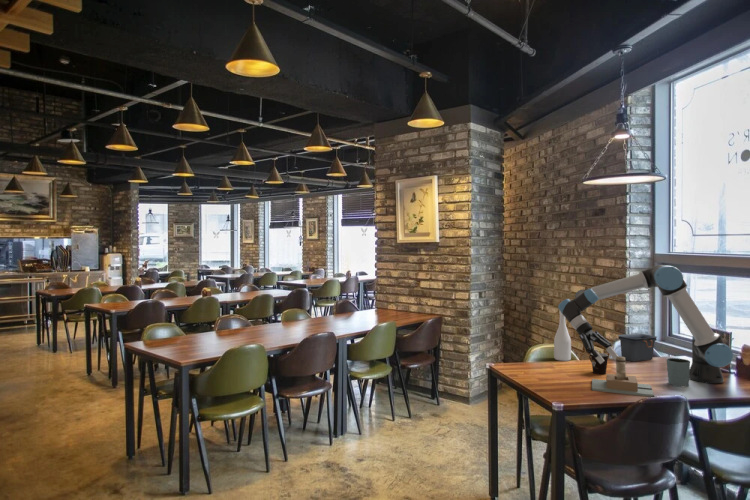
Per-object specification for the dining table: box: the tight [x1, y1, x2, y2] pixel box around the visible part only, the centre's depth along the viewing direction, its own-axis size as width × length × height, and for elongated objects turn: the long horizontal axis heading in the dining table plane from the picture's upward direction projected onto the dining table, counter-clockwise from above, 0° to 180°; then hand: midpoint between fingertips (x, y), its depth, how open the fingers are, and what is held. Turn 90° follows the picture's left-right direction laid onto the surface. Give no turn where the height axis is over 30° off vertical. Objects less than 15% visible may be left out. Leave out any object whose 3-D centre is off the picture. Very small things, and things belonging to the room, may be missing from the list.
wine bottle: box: [553, 310, 572, 362], centre depth 300 cm, size 10×10×30 cm
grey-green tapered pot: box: [666, 357, 691, 387], centre depth 247 cm, size 10×10×12 cm
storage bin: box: [617, 333, 658, 362], centre depth 299 cm, size 21×16×14 cm
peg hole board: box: [591, 373, 655, 398], centre depth 239 cm, size 26×18×5 cm
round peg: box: [615, 355, 627, 380], centre depth 239 cm, size 4×4×14 cm
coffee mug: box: [588, 352, 609, 375], centre depth 270 cm, size 12×9×10 cm
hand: (609, 360), depth 243 cm, fingers open, 13 cm apart
